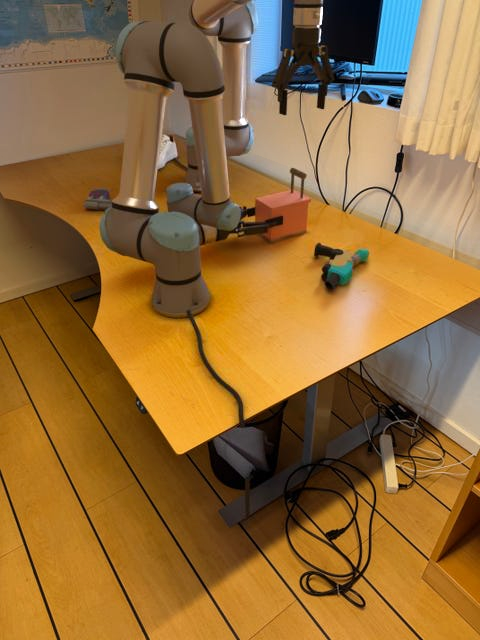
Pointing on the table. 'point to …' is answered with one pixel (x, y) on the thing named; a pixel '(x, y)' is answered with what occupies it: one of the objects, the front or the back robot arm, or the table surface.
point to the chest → (291, 221)
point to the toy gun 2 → (339, 264)
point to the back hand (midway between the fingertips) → (302, 111)
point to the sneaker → (167, 150)
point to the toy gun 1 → (98, 200)
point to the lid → (285, 195)
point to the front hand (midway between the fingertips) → (273, 214)
